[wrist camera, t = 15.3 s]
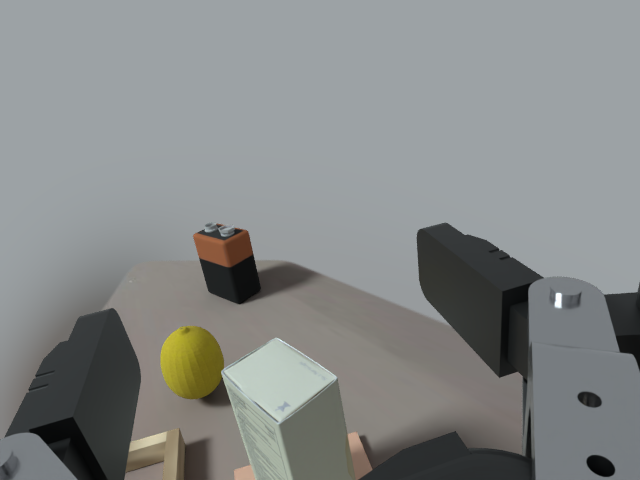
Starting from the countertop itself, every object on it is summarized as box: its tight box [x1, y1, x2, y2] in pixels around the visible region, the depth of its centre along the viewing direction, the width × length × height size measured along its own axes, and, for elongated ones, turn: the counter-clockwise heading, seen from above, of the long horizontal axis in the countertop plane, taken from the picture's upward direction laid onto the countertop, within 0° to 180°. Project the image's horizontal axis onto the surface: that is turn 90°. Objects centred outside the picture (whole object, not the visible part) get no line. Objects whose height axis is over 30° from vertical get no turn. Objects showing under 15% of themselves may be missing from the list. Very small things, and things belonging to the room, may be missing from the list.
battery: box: [193, 223, 261, 304], centre depth 58 cm, size 4×7×10 cm, turn 51°
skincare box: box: [221, 338, 356, 480], centre depth 27 cm, size 6×4×12 cm
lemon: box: [161, 326, 224, 399], centre depth 41 cm, size 6×6×8 cm
